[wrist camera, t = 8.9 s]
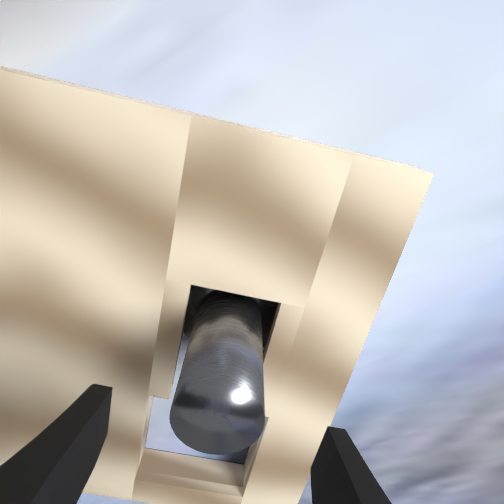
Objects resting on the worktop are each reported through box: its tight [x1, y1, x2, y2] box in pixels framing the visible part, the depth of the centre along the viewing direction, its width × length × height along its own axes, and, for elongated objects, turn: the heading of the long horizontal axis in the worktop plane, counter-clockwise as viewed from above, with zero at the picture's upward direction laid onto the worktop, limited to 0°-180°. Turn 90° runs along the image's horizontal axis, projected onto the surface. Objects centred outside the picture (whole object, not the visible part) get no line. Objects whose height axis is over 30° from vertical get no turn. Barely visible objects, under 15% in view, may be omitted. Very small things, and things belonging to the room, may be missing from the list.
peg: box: [170, 285, 279, 455], centre depth 16 cm, size 5×5×8 cm
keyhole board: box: [0, 66, 434, 504], centre depth 19 cm, size 22×18×2 cm
